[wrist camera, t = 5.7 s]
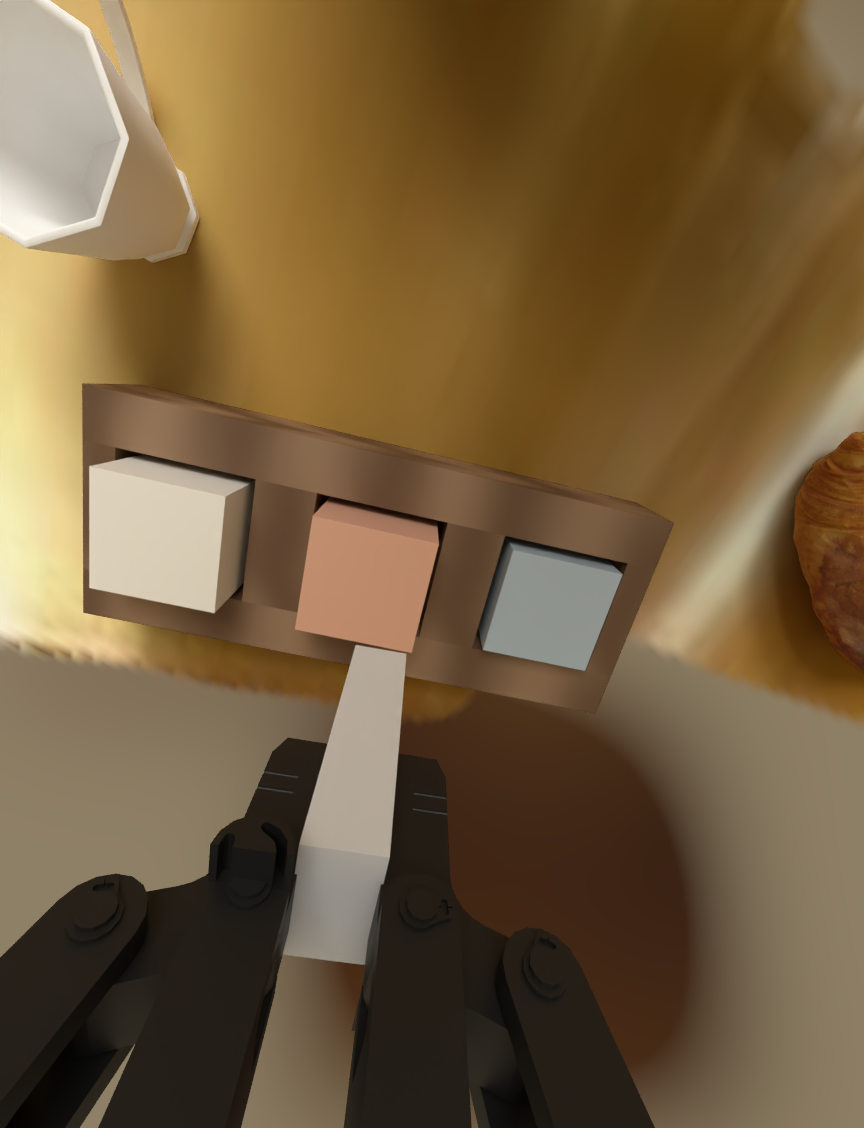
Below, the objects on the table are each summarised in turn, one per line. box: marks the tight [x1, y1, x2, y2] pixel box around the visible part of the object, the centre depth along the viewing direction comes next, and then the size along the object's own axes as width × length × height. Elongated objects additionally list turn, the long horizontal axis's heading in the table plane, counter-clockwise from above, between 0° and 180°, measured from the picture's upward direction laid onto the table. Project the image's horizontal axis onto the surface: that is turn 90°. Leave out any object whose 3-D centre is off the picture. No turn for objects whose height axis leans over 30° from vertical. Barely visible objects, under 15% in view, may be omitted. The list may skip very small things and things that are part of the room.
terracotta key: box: [295, 496, 439, 653], centre depth 23 cm, size 5×5×4 cm
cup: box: [0, 0, 200, 263], centre depth 18 cm, size 7×10×8 cm
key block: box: [82, 384, 674, 714], centre depth 26 cm, size 27×11×4 cm, turn 77°
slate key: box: [478, 536, 623, 671], centre depth 26 cm, size 5×5×4 cm
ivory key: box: [89, 454, 256, 613], centre depth 23 cm, size 5×5×4 cm
